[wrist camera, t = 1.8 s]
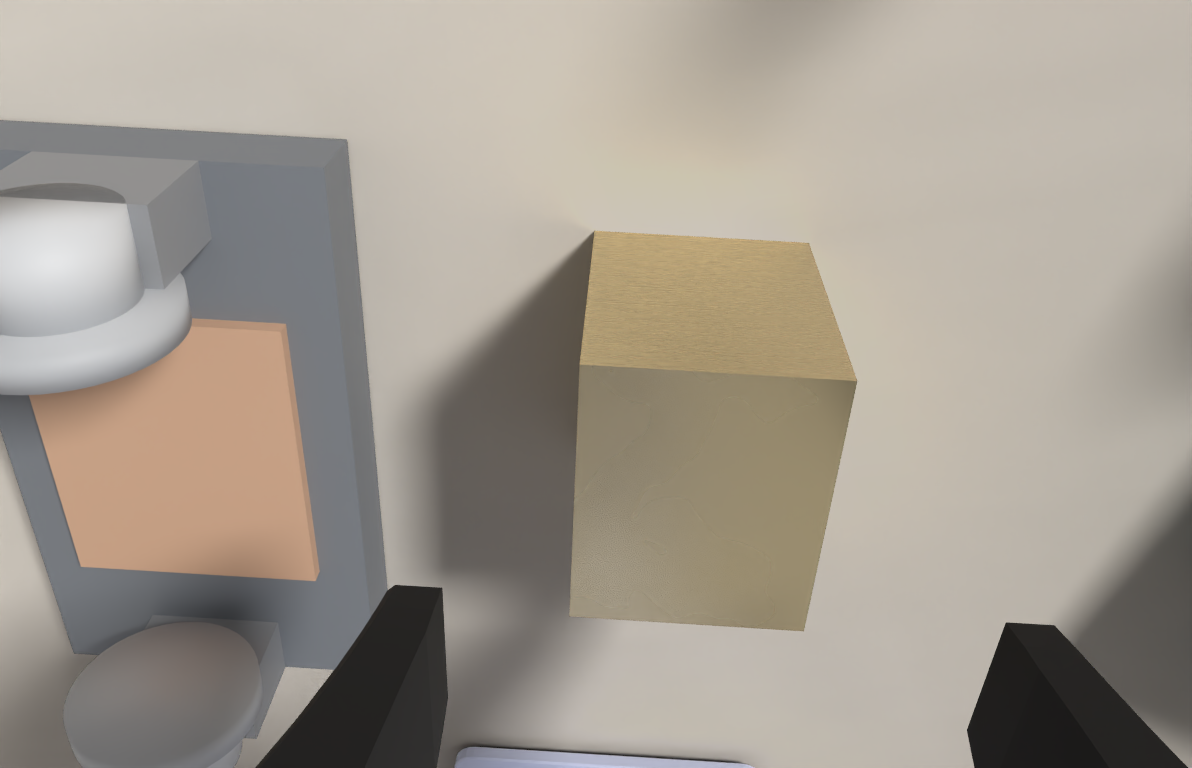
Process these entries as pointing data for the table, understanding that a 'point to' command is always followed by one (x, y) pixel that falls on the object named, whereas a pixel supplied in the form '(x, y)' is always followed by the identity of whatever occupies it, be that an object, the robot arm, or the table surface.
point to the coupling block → (705, 431)
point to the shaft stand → (188, 422)
